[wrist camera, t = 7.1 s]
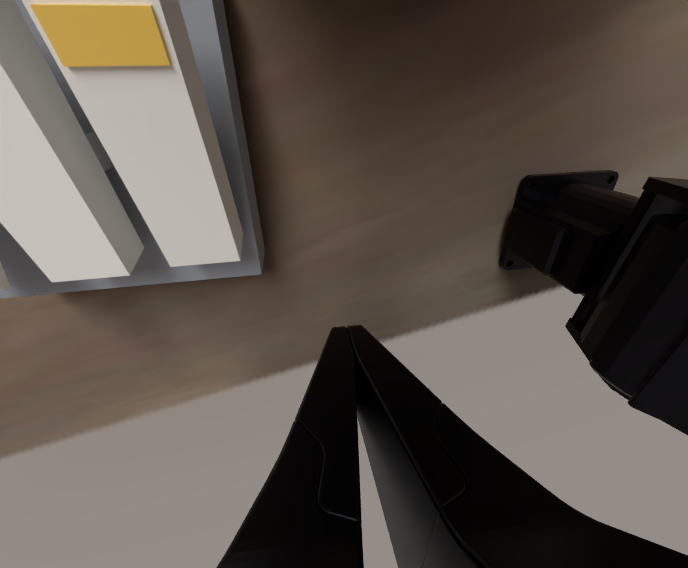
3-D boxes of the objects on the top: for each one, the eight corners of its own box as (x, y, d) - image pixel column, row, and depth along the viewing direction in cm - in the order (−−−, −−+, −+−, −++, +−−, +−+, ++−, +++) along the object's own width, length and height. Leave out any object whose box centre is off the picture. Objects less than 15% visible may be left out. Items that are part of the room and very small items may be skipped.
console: (216, -39, 13) (191, -87, 9) (265, 251, 19) (260, 284, 16) (-160, -48, 11) (-354, -111, 8) (34, 270, 18) (-25, 310, 15)
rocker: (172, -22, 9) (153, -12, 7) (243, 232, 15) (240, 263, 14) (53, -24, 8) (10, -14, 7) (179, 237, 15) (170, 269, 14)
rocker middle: (3, -20, 8) (-58, -23, 7) (144, 247, 15) (128, 278, 13) (-125, -23, 8) (-221, -26, 7) (74, 252, 14) (49, 284, 13)
